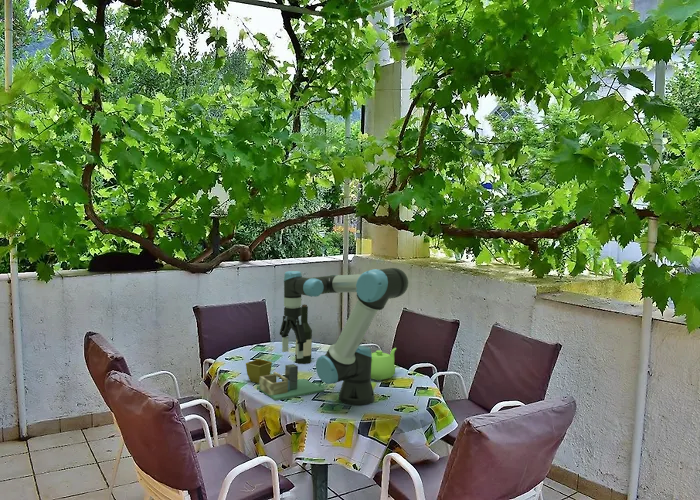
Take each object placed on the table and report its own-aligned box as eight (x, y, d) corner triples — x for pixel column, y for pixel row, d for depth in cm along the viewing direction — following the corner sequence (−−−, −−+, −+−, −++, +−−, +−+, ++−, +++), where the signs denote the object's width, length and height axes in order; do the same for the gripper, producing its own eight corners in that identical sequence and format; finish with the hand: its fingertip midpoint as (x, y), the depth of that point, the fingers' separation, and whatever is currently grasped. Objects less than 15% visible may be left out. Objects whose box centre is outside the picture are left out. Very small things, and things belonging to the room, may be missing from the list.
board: (324, 391, 261) (324, 389, 261) (275, 400, 248) (275, 398, 248) (304, 380, 276) (304, 378, 276) (256, 388, 263) (256, 386, 263)
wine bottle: (314, 361, 309) (315, 304, 306) (304, 365, 302) (306, 307, 299) (301, 358, 313) (303, 302, 311) (291, 362, 306) (293, 305, 304)
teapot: (384, 369, 299) (385, 344, 297) (406, 376, 288) (407, 350, 287) (352, 377, 284) (353, 350, 282) (375, 385, 273) (376, 357, 272)
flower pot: (259, 385, 267) (259, 366, 266) (245, 382, 272) (245, 362, 271) (272, 380, 275) (272, 361, 274) (257, 377, 279) (258, 358, 278)
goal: (287, 393, 256) (288, 378, 255) (271, 396, 251) (271, 381, 251) (275, 385, 266) (275, 371, 265) (259, 388, 261) (259, 374, 261)
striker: (297, 388, 260) (298, 366, 259) (287, 390, 257) (287, 368, 256) (292, 385, 264) (292, 363, 263) (282, 387, 261) (282, 365, 261)
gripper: (314, 310, 250) (314, 359, 251) (287, 302, 270) (286, 348, 272) (298, 311, 246) (298, 362, 247) (272, 303, 266) (272, 350, 268)
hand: (292, 354), depth 259 cm, fingers open, 13 cm apart
